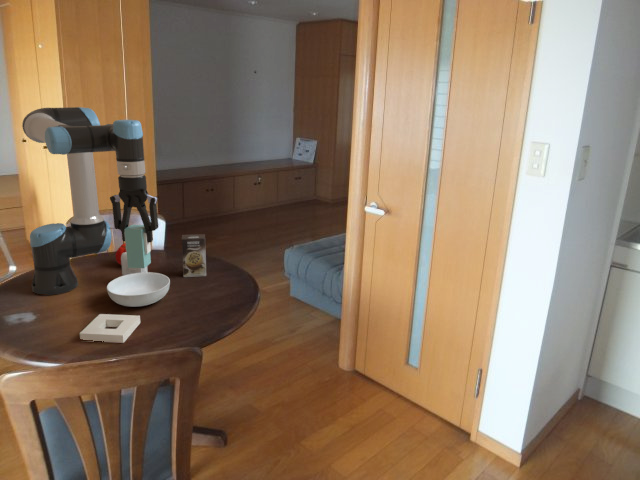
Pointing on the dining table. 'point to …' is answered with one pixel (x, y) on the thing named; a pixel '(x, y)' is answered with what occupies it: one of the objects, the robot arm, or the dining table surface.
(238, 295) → the dining table surface
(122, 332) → the white square frame
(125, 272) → the photo printer
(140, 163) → the robot arm
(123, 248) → the tomato
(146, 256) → the teal square peg
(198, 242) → the coffee box
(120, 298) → the serving bowl
